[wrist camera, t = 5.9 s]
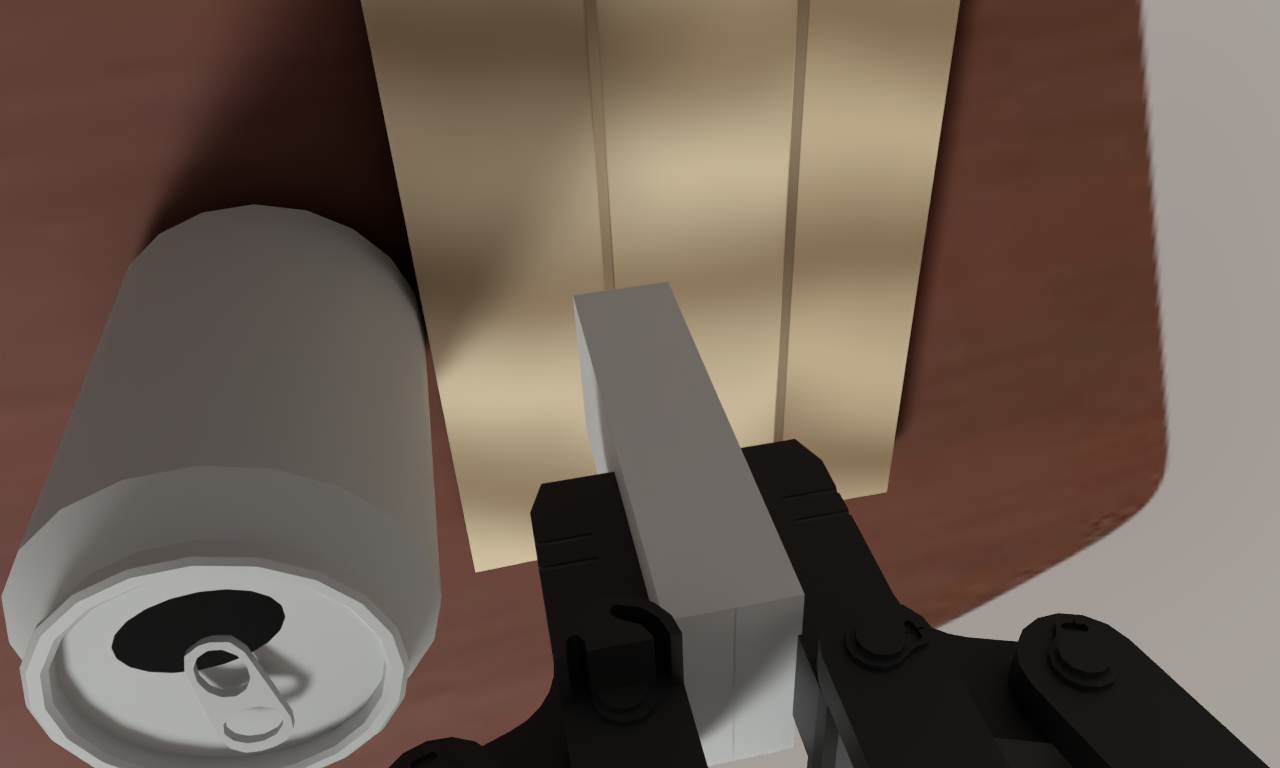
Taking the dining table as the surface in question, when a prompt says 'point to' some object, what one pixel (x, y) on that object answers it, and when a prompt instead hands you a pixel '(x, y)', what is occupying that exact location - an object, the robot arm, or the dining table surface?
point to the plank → (582, 211)
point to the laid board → (857, 223)
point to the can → (236, 507)
